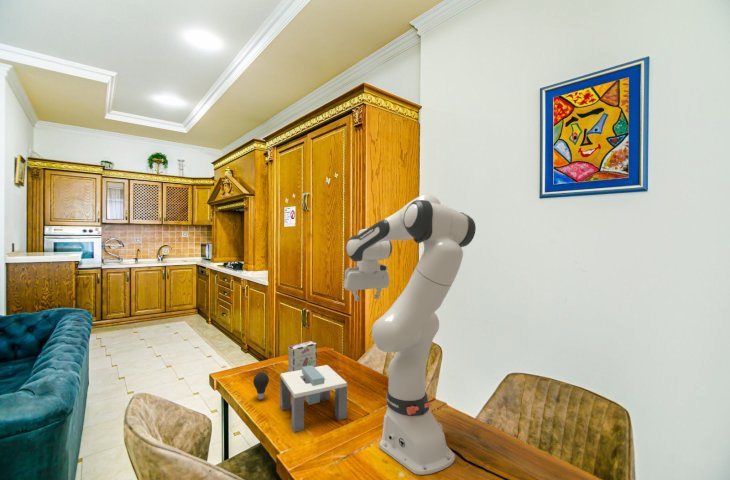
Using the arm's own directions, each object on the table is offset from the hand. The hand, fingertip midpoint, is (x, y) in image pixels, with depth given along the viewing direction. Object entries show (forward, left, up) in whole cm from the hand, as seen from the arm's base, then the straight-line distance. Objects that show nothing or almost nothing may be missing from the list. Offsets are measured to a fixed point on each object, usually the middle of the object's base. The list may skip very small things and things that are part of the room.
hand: (366, 299), depth 138 cm
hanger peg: (-12, +28, -31) cm, 44 cm away
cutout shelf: (-12, +28, -35) cm, 47 cm away
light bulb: (+6, +42, -35) cm, 55 cm away
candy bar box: (+12, +24, -35) cm, 44 cm away
